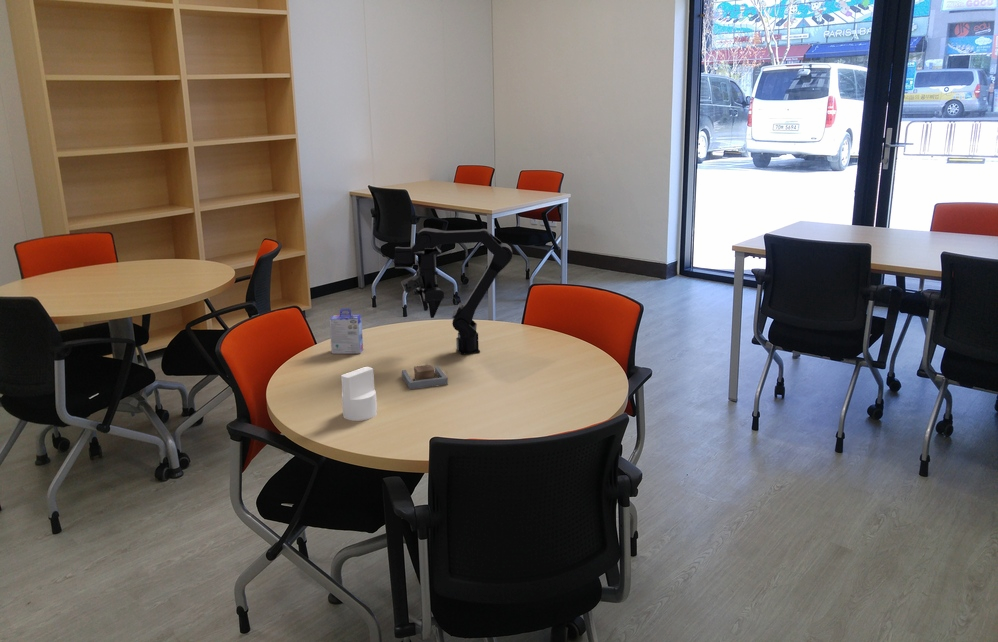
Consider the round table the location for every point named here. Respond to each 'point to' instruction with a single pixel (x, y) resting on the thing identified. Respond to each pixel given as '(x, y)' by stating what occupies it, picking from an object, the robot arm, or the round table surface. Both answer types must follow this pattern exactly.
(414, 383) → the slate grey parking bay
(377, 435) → the round table surface
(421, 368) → the walnut block
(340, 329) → the ink cartridge box
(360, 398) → the cylinder with rectangular tab
